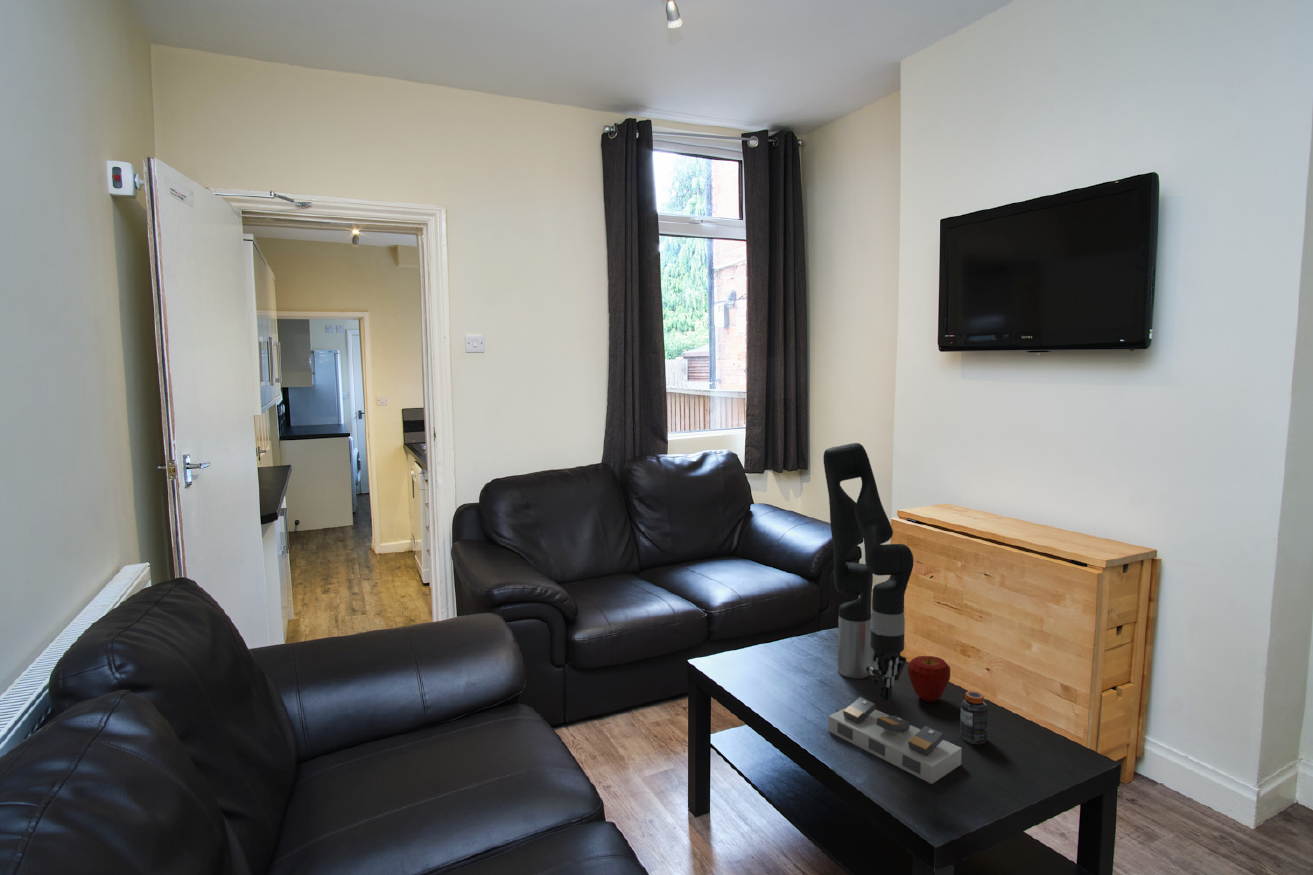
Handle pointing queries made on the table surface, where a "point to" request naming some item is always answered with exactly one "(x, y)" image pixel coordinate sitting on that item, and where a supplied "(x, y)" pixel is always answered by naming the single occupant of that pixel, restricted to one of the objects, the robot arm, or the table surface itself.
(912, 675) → the apple
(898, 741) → the power strip
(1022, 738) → the table surface
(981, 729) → the pill bottle
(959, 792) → the table surface
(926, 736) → the rocker
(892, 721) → the block
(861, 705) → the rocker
